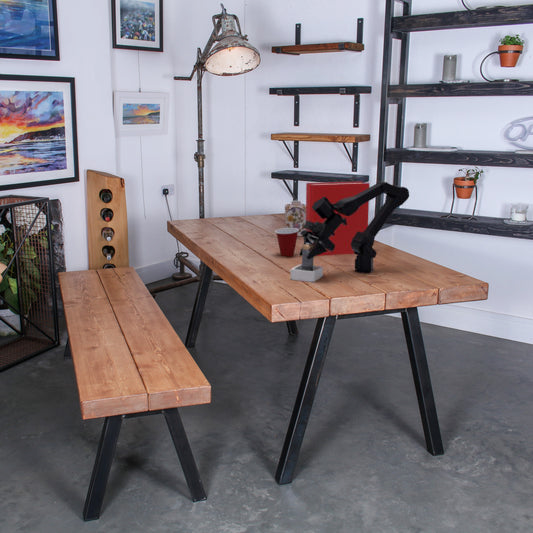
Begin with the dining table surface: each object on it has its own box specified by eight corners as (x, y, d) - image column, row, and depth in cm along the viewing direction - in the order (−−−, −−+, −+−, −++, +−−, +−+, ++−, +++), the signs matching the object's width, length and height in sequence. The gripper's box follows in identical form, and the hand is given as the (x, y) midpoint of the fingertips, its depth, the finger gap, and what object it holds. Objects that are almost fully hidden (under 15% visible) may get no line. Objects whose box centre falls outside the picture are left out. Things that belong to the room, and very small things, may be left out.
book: (360, 249, 290) (362, 181, 282) (367, 253, 282) (369, 183, 274) (304, 252, 284) (305, 182, 276) (309, 256, 276) (310, 184, 269)
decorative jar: (307, 237, 320) (307, 202, 315) (284, 237, 320) (284, 202, 315) (306, 232, 331) (306, 199, 327) (284, 232, 331) (284, 199, 327)
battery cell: (311, 275, 242) (313, 242, 239) (313, 278, 238) (314, 244, 235) (300, 274, 242) (302, 241, 239) (301, 277, 238) (303, 244, 234)
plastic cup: (271, 254, 281) (271, 228, 278) (293, 252, 284) (293, 226, 282) (280, 259, 271) (280, 232, 268) (302, 257, 275) (302, 230, 272)
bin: (322, 276, 242) (322, 266, 241) (313, 282, 234) (313, 272, 233) (300, 273, 246) (300, 264, 245) (290, 279, 238) (290, 269, 237)
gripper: (305, 209, 244) (280, 239, 242) (328, 216, 227) (301, 248, 225) (322, 227, 249) (297, 256, 247) (346, 235, 232) (320, 267, 230)
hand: (303, 256), depth 237 cm, fingers open, 6 cm apart
